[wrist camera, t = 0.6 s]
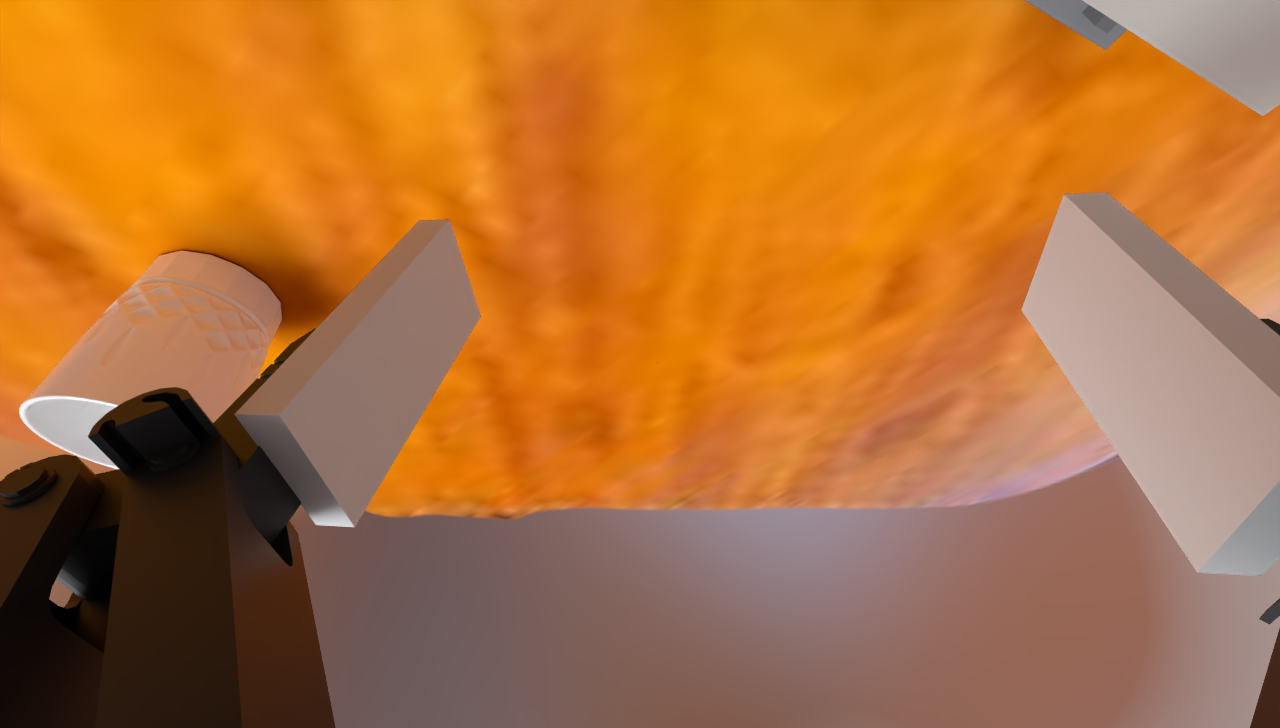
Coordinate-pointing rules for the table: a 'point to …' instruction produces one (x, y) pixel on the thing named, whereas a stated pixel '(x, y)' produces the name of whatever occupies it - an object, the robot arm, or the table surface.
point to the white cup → (160, 348)
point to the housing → (1212, 41)
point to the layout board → (1082, 20)
